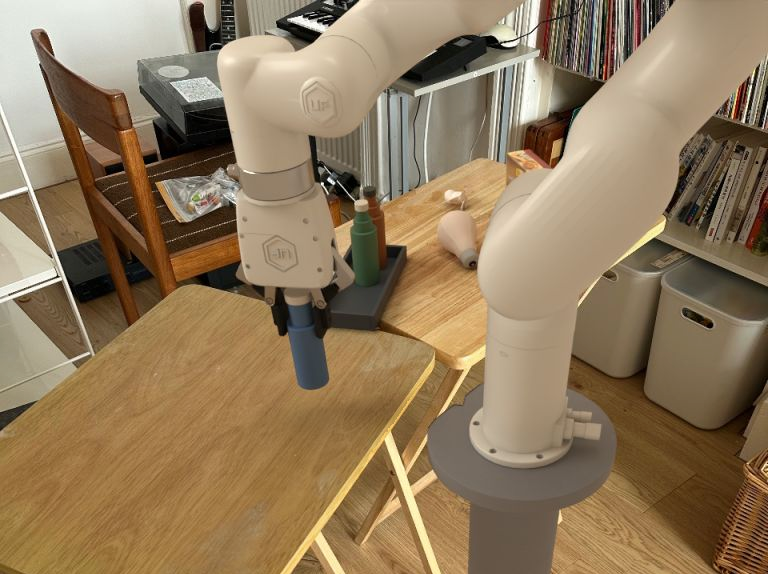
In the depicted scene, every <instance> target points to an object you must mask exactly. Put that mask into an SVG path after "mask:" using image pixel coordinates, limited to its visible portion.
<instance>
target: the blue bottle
mask: <svg viewBox="0 0 768 574" xmlns="http://www.w3.org/2000/svg"><path fill="white" fill-rule="evenodd" d="M283 293H284V297H285V301H286V303H287V304H288V309H289V314H290V318H289V319H288V320H287V322H286V326H287V331H288V332H287V335H288V340H289V346H290V350H291V351H290V352H291V355H292V361H293V366H294V370H295V376H296V382H297V385H298V387H300V388H301V389H303V390H306V391H315V390H320V389H322V388H324V387H325V386H327V384H328V383H329V381H330V374H329V368H328V362H327V361H328V360H327V355H326V349H325V343H324V342H325V341H324V338H323V339H318V337H316V332H315V326H314V320H313V314H312V309H313V307H314V305H313V296H312V293H311V291H310V289H305V288H285V289H283Z"/></svg>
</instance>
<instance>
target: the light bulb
mask: <svg viewBox="0 0 768 574" xmlns="http://www.w3.org/2000/svg"><path fill="white" fill-rule="evenodd" d="M477 235H478V226H477V223H476V221H475V218H473V216H472V215H471V214H470V213H468V212H467V211H464V210H460V209H457V210H451V211H449V212H447V213H446V214H444V215H443V216H442V217H441V218H440V220H439V222H438V225H437V228H436V237H437V240H438V242H439V244H440V245H441V247H442V248H443V249H445V250H446V251H447V252H449V253H452V254H454V255H455V256H456V258H457V259H458V260H459V261H461V263H462V265H463V267H464V268H465V269H473V268H475V267H477V266H478V260H479V254H478V249H477V244H476V242H477V237H478V236H477Z"/></svg>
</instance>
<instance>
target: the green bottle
mask: <svg viewBox="0 0 768 574" xmlns="http://www.w3.org/2000/svg"><path fill="white" fill-rule="evenodd" d="M353 205H354V211H355V216H354V217H353V219H352V221H353V222H352V223H353V225H351V227H350V229H349V235H350V245H351V247H352V258H353V269H354V273H355V276H356V277H355V279H354V280H355V283H356V284H357V285H360V286H373V285H375V284H377V283H378V282H379V281H380V272H379V257H378V242H377V228H376V226H375V225H374V224H372V217H371V216H369V215H368V201H367V200H364V198H363V199H357V200H355V201H354V204H353Z"/></svg>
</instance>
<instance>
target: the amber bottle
mask: <svg viewBox="0 0 768 574" xmlns="http://www.w3.org/2000/svg"><path fill="white" fill-rule="evenodd" d="M362 196H363V200H367V201H368V215H369V216H371V217H372V224H374V225H375V226H376V228H377V242H378V257H379V270H382V269H384V268H385V267H386V266H387V253H386V244H387V239H386V236H387V235H386V220H385V212H384V211H383V210H382V209H381V204H380V202H379V201H377V187H376V186H375V185H366V186H364V187H363V189H362Z"/></svg>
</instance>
